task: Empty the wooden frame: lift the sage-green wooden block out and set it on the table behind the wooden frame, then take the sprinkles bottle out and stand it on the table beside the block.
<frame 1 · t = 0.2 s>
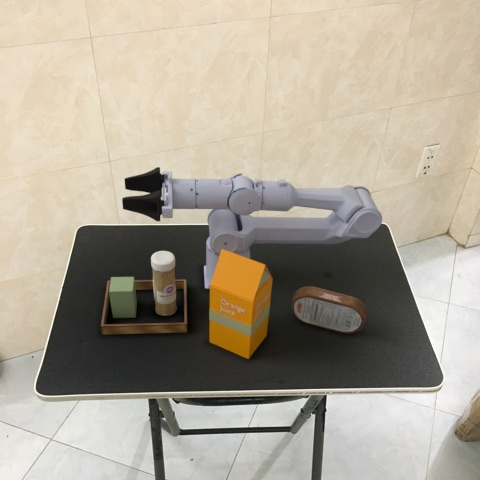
hand: (123, 193, 105), 21 cm above the table, tool horizontal, fingers open, 7 cm apart
sprinkles bottle: (166, 310, 113), resting in wooden frame
tin: (325, 326, 112), on the table
orange juice: (238, 339, 108), on the table
block: (125, 310, 112), resting in wooden frame
wooden frame: (146, 310, 113), on the table
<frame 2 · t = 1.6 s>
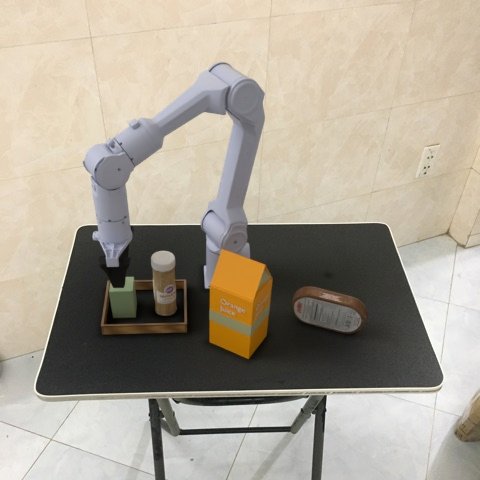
hand: (120, 274, 106), 9 cm above the table, tool pointing down, fingers open, 7 cm apart
nothing on the table moved.
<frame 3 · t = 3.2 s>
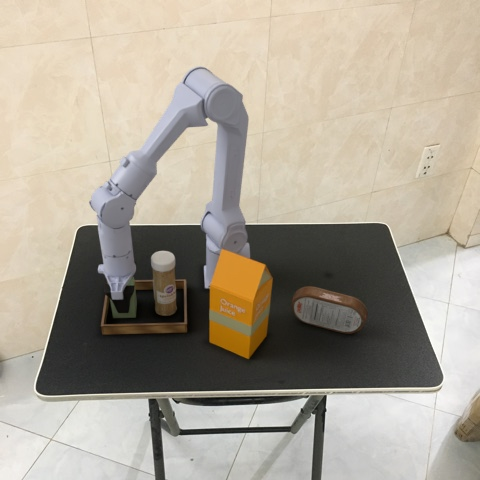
hand: (124, 303, 111), 2 cm above the table, tool pointing down, fingers closed on block, 4 cm apart
block: (125, 310, 112), resting in wooden frame, touching gripper
everything else where it was.
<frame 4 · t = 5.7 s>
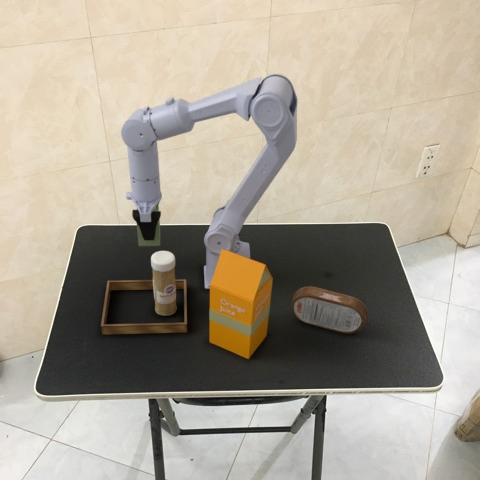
hand: (149, 232, 117), 9 cm above the table, tool pointing down, fingers closed on block, 4 cm apart
block: (149, 240, 118), point 7 cm above the table, touching gripper
everything else where it was.
when the fingers open (2 cm above the table, at t = 8.2 s): block stays where it is, on the table.
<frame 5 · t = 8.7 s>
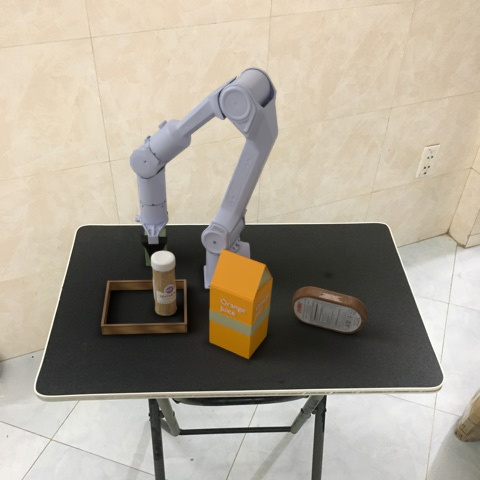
hand: (156, 252, 124), 2 cm above the table, tool pointing down, fingers open, 7 cm apart
block: (156, 260, 125), on the table
everything else where it was.
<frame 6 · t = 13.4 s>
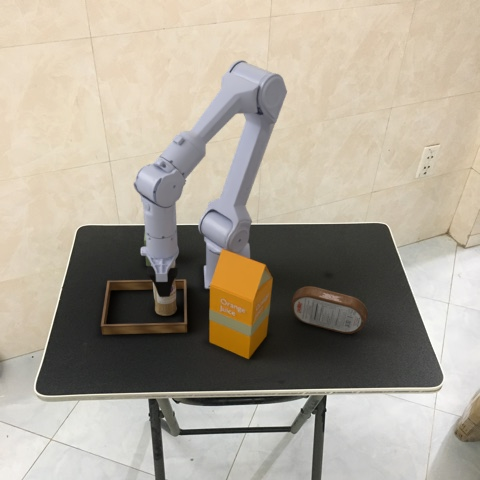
hand: (164, 287, 109), 6 cm above the table, tool pointing down, fingers closed on sprinkles bottle, 4 cm apart
sprinkles bottle: (166, 310, 113), resting in wooden frame, touching gripper
everything else where it was.
when the fingers open (6 cm above the table, at t = 17.4 s): sprinkles bottle stays where it is, on the table.
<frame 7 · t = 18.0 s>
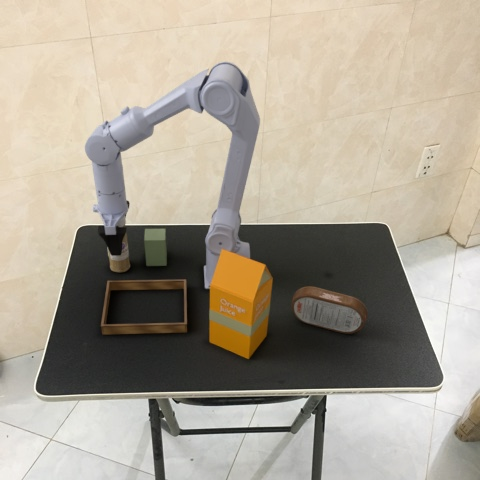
hand: (117, 244, 119), 6 cm above the table, tool pointing down, fingers open, 7 cm apart
sprinkles bottle: (120, 267, 123), on the table
everything else where it was.
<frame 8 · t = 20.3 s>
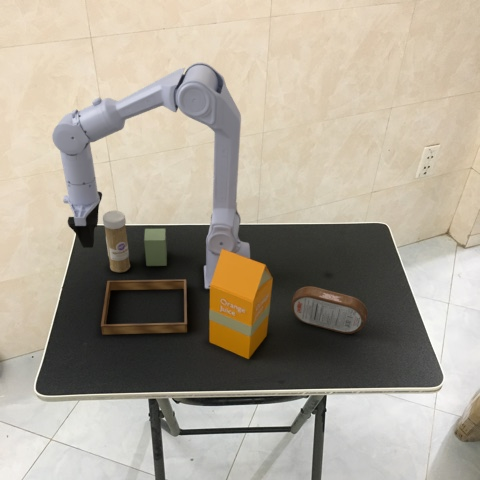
hand: (90, 236, 117), 8 cm above the table, tool pointing down, fingers open, 7 cm apart
nothing on the table moved.
at the end: block 0.1 cm from the target spot, on the table; sprinkles bottle 0.1 cm from the target spot, on the table; sprinkles bottle tilted 0° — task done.
